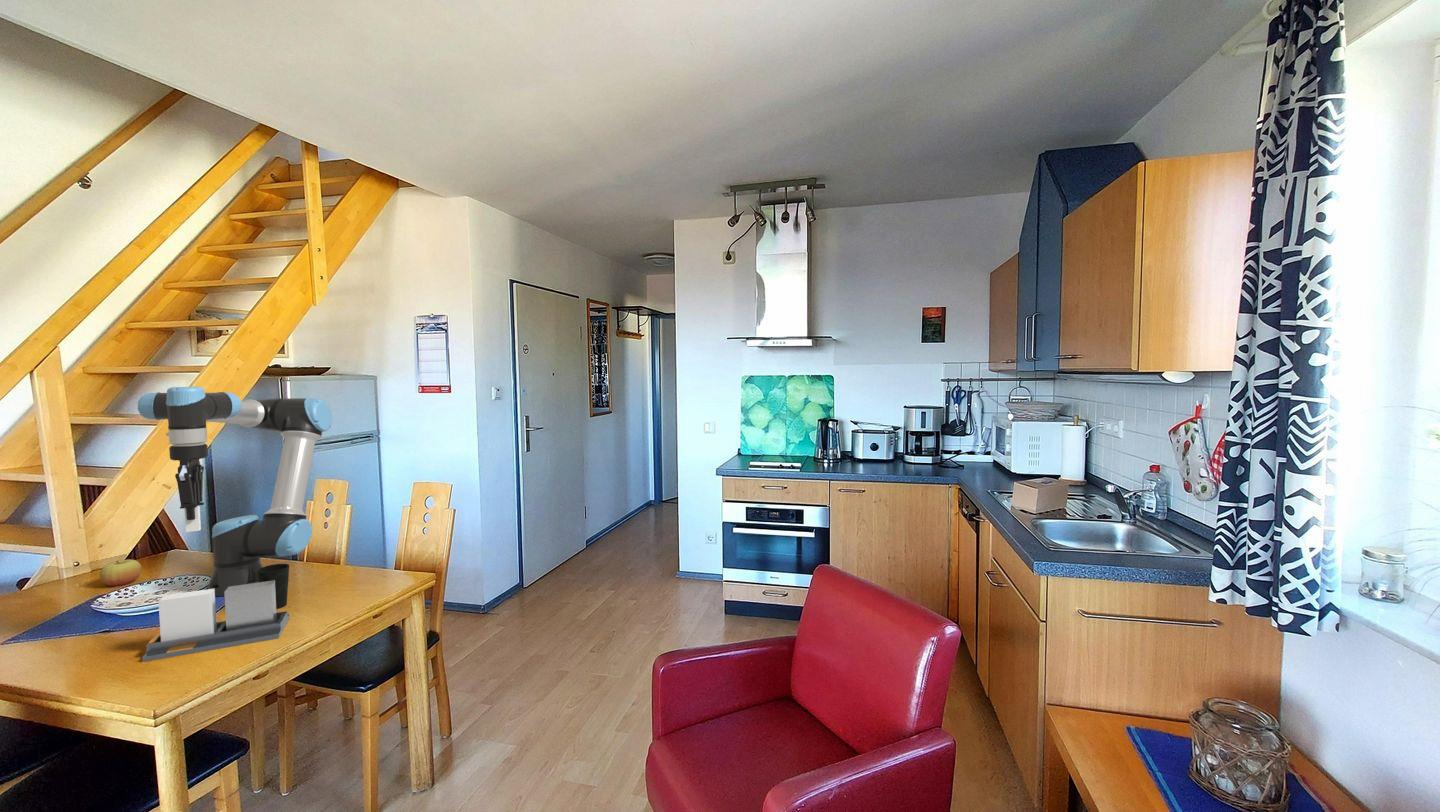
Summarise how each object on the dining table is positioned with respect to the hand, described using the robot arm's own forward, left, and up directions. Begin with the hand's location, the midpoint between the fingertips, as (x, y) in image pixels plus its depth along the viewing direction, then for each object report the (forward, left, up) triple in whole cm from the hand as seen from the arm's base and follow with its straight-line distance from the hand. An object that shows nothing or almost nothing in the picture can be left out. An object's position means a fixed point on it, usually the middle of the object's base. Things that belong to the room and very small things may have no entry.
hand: (193, 530), depth 154 cm
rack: (+7, +6, -28) cm, 30 cm away
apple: (-59, -36, -29) cm, 75 cm away
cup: (-12, +14, -29) cm, 34 cm away
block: (+7, 0, -27) cm, 28 cm away
